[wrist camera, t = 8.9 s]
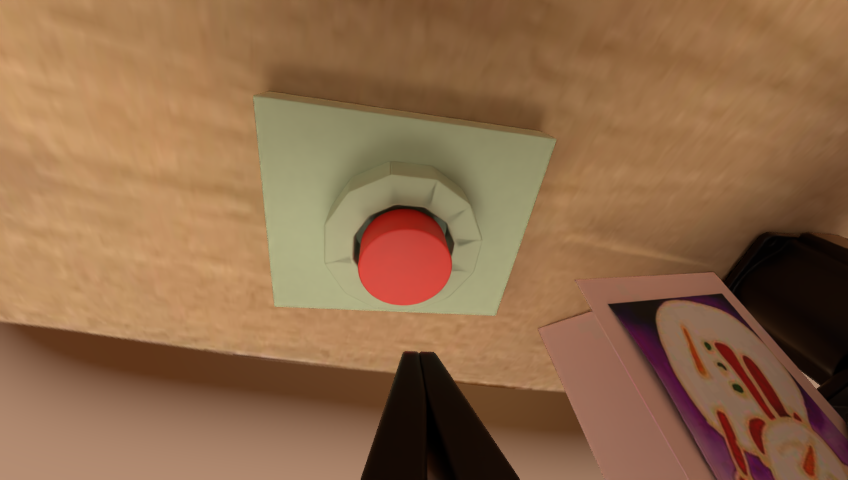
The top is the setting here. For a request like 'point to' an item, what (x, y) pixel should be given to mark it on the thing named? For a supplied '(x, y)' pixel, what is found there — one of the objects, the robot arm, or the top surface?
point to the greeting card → (690, 386)
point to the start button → (404, 257)
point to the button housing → (391, 197)
